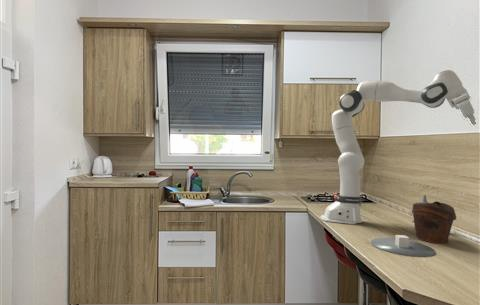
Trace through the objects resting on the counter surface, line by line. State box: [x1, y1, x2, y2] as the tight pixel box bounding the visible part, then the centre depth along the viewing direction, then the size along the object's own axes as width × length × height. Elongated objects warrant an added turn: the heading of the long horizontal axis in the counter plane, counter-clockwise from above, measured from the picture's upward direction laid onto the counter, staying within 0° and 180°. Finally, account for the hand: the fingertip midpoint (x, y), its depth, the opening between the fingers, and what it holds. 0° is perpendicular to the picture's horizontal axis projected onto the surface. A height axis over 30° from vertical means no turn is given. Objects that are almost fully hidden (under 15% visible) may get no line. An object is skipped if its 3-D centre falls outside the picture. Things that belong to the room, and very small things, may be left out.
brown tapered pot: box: [411, 201, 457, 244], centre depth 155 cm, size 18×20×18 cm
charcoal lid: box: [370, 234, 436, 258], centre depth 139 cm, size 24×24×5 cm
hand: (474, 125), depth 157 cm, fingers open, 8 cm apart
